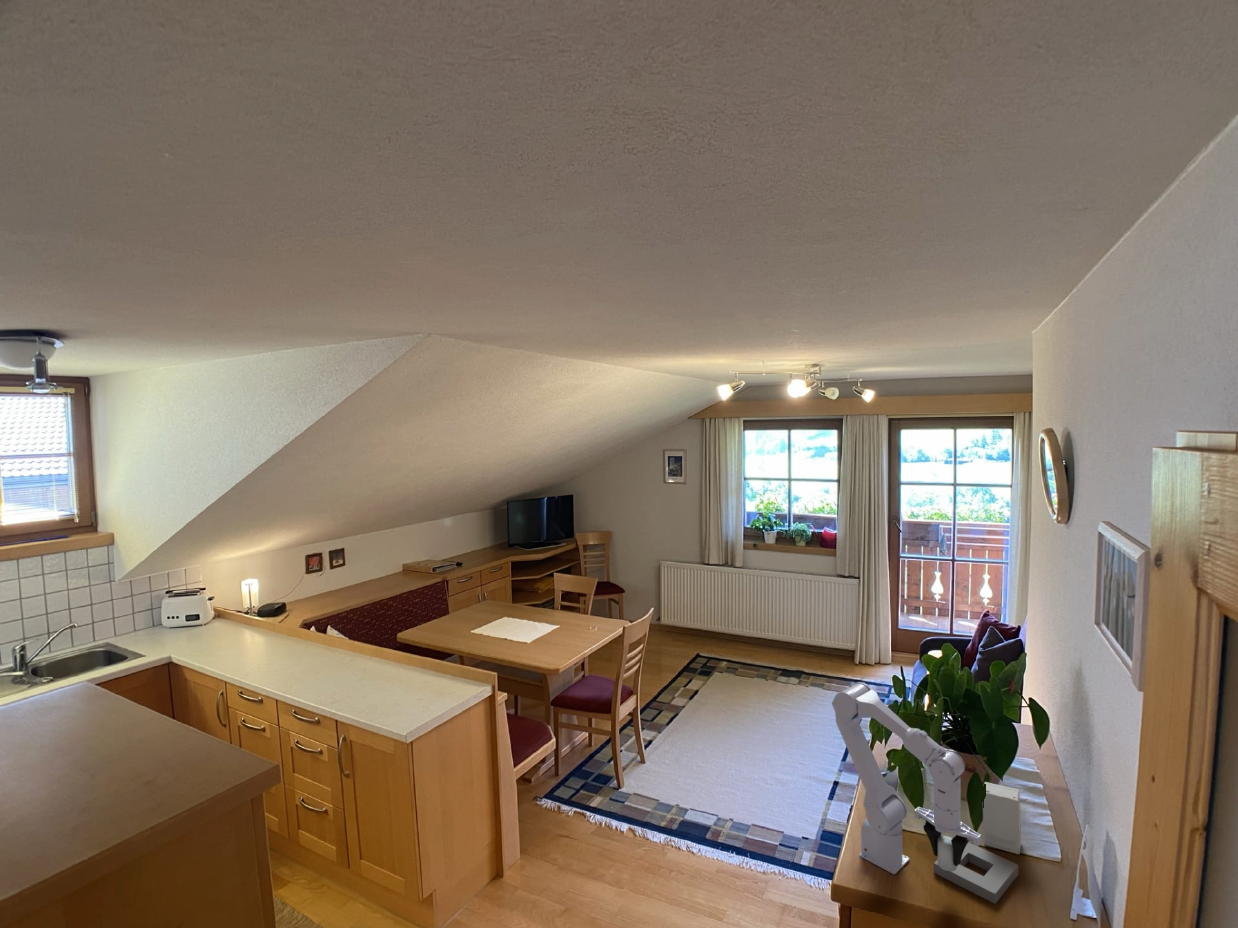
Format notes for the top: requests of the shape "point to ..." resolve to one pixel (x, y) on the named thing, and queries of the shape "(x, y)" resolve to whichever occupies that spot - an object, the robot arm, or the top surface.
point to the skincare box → (1002, 818)
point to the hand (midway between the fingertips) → (947, 858)
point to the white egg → (945, 853)
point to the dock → (983, 886)
